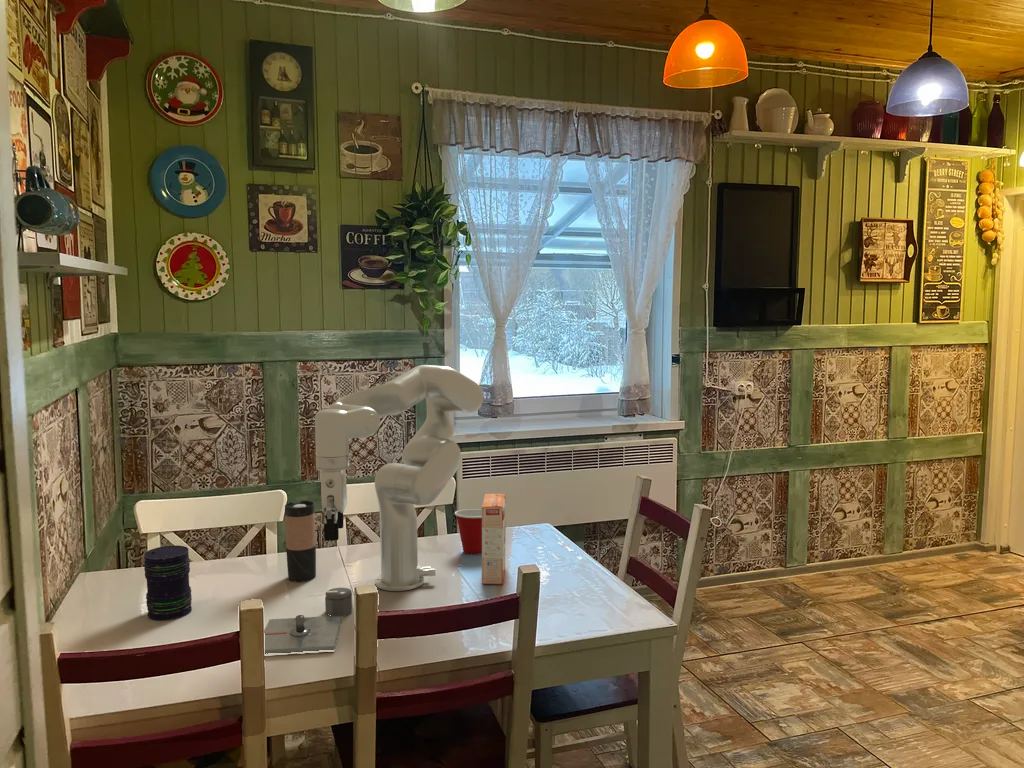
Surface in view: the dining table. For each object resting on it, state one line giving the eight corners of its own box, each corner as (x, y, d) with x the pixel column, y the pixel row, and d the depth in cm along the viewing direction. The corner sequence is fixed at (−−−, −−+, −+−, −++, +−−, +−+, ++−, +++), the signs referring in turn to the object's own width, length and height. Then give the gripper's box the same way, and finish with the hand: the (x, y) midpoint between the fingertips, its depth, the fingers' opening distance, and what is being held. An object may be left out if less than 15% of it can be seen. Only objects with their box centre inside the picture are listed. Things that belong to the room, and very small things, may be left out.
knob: (353, 606, 192) (352, 585, 191) (351, 616, 186) (350, 595, 186) (327, 607, 191) (326, 587, 191) (324, 617, 185) (324, 596, 185)
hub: (341, 621, 183) (340, 600, 182) (334, 652, 167) (333, 629, 167) (269, 625, 181) (268, 604, 180) (255, 657, 165) (254, 634, 165)
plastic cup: (497, 547, 235) (497, 508, 234) (483, 559, 225) (483, 518, 224) (464, 544, 239) (463, 505, 238) (448, 555, 229) (448, 514, 228)
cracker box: (504, 585, 205) (503, 506, 203) (481, 585, 205) (480, 506, 203) (506, 566, 219) (506, 492, 217) (484, 566, 219) (484, 492, 217)
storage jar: (196, 603, 194) (193, 544, 193) (187, 619, 185) (183, 557, 183) (153, 606, 193) (149, 546, 191) (141, 622, 183) (137, 560, 182)
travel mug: (306, 583, 207) (303, 509, 205) (281, 580, 210) (278, 506, 207) (322, 574, 214) (319, 501, 212) (298, 571, 217) (295, 499, 214)
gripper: (344, 469, 177) (346, 544, 179) (352, 455, 194) (353, 523, 196) (310, 470, 176) (312, 545, 178) (321, 455, 193) (322, 524, 195)
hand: (334, 533), depth 187 cm, fingers open, 9 cm apart
